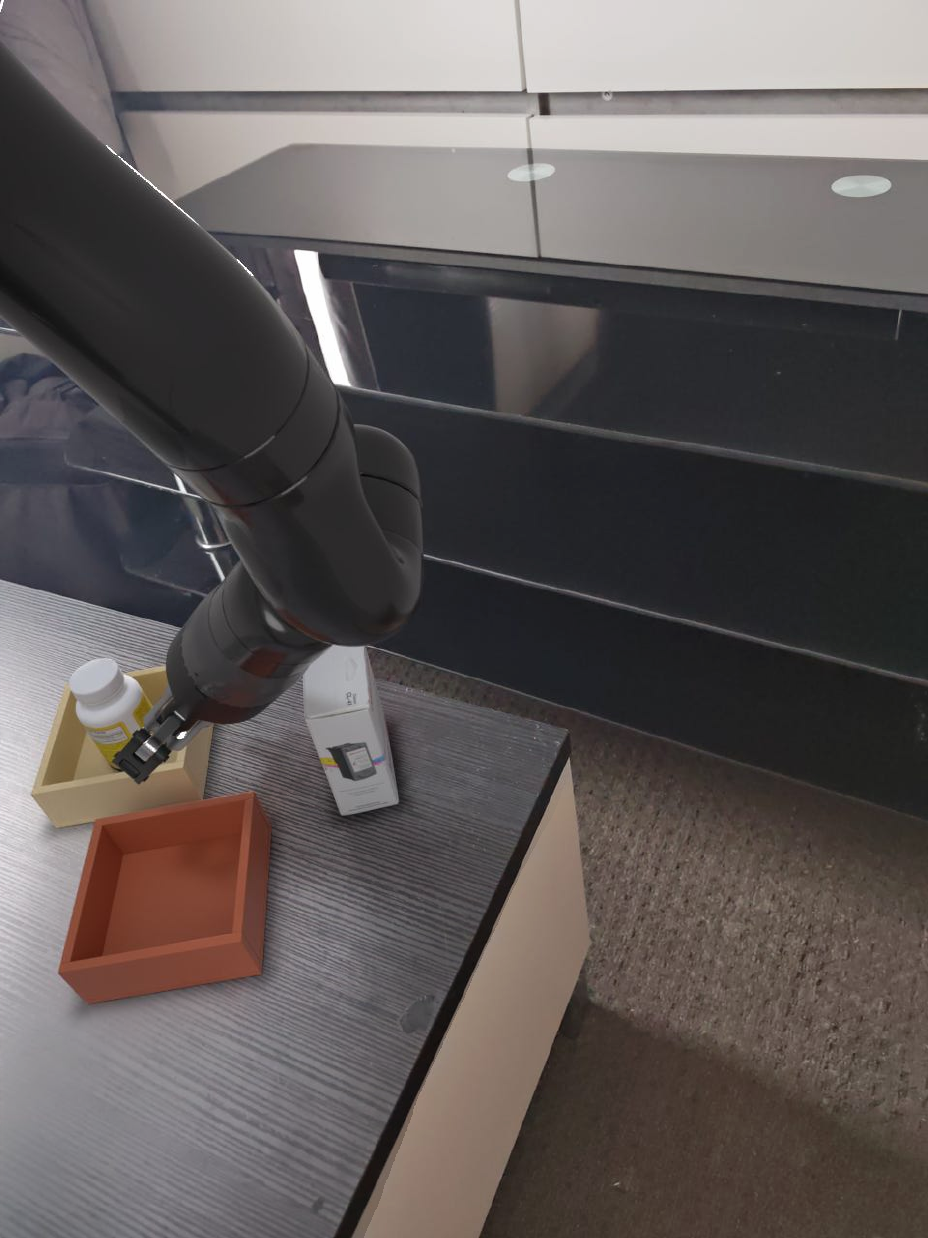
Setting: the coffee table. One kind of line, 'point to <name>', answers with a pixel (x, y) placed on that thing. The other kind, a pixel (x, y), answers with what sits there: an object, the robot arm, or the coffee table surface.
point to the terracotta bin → (170, 899)
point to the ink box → (350, 729)
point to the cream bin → (91, 789)
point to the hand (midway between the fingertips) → (176, 718)
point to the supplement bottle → (108, 705)
